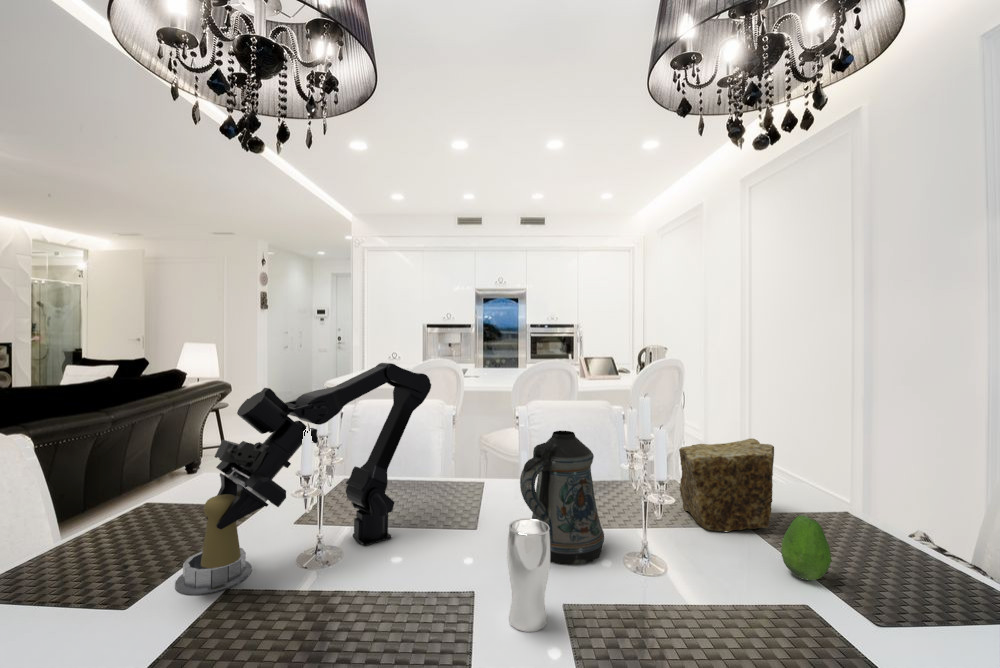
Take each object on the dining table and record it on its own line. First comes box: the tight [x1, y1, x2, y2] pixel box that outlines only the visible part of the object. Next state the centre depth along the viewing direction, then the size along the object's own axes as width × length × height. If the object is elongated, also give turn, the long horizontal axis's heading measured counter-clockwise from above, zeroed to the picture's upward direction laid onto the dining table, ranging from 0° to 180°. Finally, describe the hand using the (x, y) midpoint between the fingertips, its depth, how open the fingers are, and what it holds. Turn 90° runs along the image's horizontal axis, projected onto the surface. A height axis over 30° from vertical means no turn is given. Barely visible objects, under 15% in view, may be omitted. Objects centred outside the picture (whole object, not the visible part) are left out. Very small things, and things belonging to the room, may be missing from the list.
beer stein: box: [519, 430, 605, 566], centre depth 99 cm, size 16×19×25 cm
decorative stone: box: [678, 438, 775, 532], centre depth 117 cm, size 21×20×20 cm
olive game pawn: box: [201, 494, 241, 568], centre depth 80 cm, size 6×6×11 cm
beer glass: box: [506, 518, 551, 633], centre depth 74 cm, size 7×7×15 cm
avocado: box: [780, 514, 832, 581], centre depth 89 cm, size 8×8×12 cm
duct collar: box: [174, 547, 253, 596], centre depth 85 cm, size 12×12×4 cm
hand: (212, 523), depth 80 cm, fingers closed on olive game pawn, 5 cm apart
